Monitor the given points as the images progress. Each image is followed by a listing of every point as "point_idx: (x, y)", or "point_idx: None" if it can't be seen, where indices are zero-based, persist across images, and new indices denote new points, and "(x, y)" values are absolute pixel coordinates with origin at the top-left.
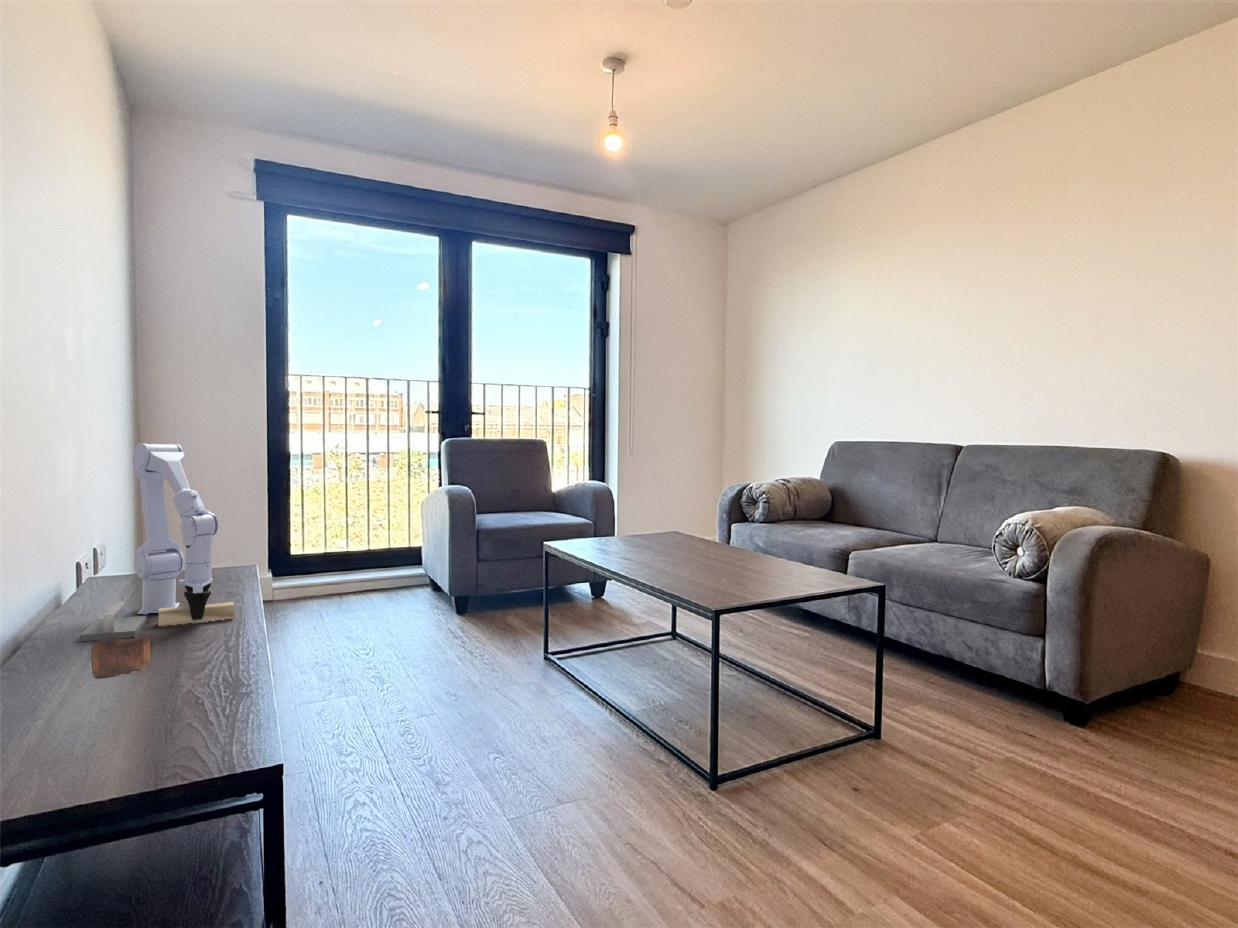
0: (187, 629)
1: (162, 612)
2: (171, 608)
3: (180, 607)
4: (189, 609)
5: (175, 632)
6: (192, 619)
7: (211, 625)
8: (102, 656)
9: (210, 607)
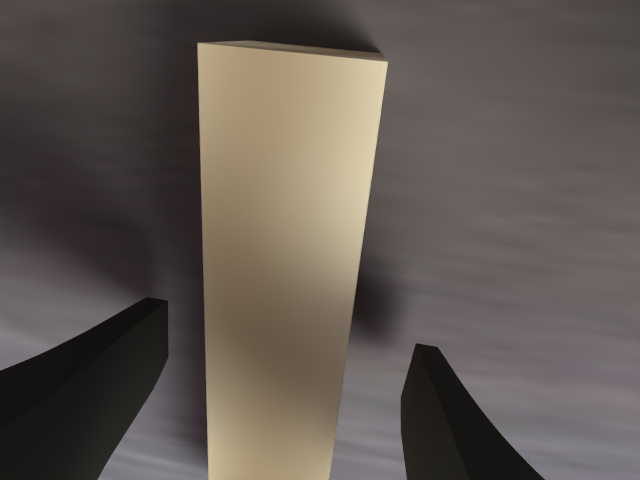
0: (74, 229)
1: (202, 87)
2: (309, 202)
3: (316, 288)
4: (208, 339)
5: (7, 144)
6: (141, 300)
7: None
8: None
9: (208, 472)
